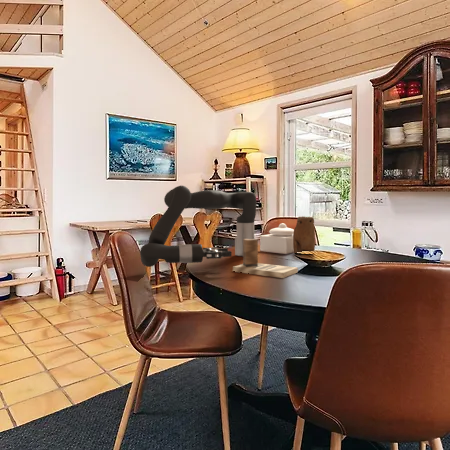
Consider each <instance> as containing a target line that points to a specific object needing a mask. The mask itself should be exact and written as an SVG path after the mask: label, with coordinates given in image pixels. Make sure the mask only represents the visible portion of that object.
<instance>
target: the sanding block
mask: <svg viewBox="0 0 450 450" xmlns="http://www.w3.org/2000/svg"><path fill="white" fill-rule="evenodd" d="M258 241H259V240H258V239H257V238H254V239H243V256H242V261H243V262H242V264H243V265H244V266H246V267H252V266H258V263H259V262H258V260H259V257H258V254H259V253H258V252H259V246H258V245H259V244H258Z"/></svg>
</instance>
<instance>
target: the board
mask: <svg viewBox="0 0 450 450" xmlns="http://www.w3.org/2000/svg"><path fill="white" fill-rule="evenodd" d="M298 270H299V268H298V267H295V266H288V265H287V266H286V265H278V264H277V265H276V264H269V263H260V262H258V266H252V267H246V266H244V265H243V263H242V264H241V263H240V264H239V265H234V266H232V272H233V271H235V273H240V272H242V273H241V274H248V273H249V274H248V275H258V276H263V277H264V276H265V277H272V278H281V279H284V278H288V277H290V276H292V275H295V274H296V273H298Z"/></svg>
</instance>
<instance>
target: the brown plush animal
mask: <svg viewBox="0 0 450 450" xmlns="http://www.w3.org/2000/svg"><path fill="white" fill-rule="evenodd" d="M315 227H316V226H315V218H314V217H312V216H298V217H297V220H296V225H295V228H294V233H293V249H294V252H293V254H295V253H297V252H302V251H314V252H315V249H316V235H315V234H316V230H315Z"/></svg>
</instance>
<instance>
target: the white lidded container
mask: <svg viewBox="0 0 450 450" xmlns="http://www.w3.org/2000/svg"><path fill="white" fill-rule="evenodd" d="M294 229H295V228H294ZM294 229H293V228H290V227H288V226H287V224H286V223H283V222H282V223H279V225H278V227H274V228H271V229H270V230H269V231H268V233H269V234H262V235H259V239H260V240H259V249H260V250H259V251H260V252H265V253H266V252H267V253H276V254H284V255H287V254H292V253H293V254H294V249H293V233H294Z"/></svg>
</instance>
